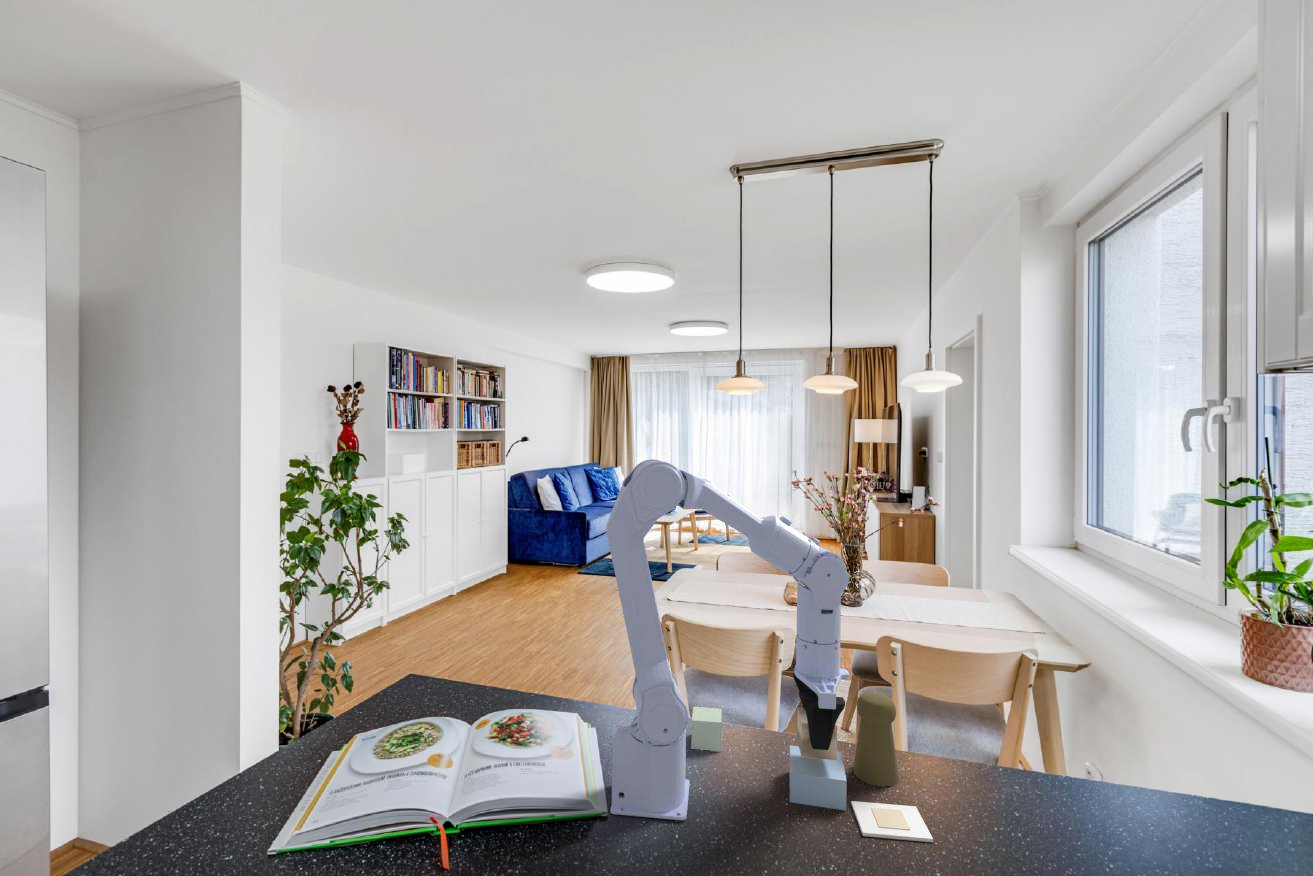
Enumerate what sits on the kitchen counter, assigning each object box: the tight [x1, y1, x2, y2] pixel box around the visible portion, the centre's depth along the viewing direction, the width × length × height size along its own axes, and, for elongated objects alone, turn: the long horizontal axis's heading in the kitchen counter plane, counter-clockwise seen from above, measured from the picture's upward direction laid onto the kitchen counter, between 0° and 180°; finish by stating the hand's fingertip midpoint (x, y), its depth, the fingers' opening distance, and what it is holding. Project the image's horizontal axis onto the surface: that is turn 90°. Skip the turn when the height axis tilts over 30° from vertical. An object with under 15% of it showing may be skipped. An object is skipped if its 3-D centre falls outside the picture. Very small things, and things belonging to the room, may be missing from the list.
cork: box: [852, 691, 900, 788], centre depth 80 cm, size 6×6×11 cm
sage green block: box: [690, 706, 723, 753], centre depth 88 cm, size 4×4×4 cm
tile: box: [850, 800, 934, 843], centre depth 70 cm, size 8×6×1 cm
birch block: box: [796, 706, 838, 760], centre depth 76 cm, size 4×4×4 cm
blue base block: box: [789, 745, 848, 811], centre depth 76 cm, size 7×7×4 cm
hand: (816, 738), depth 76 cm, fingers closed on birch block, 4 cm apart
